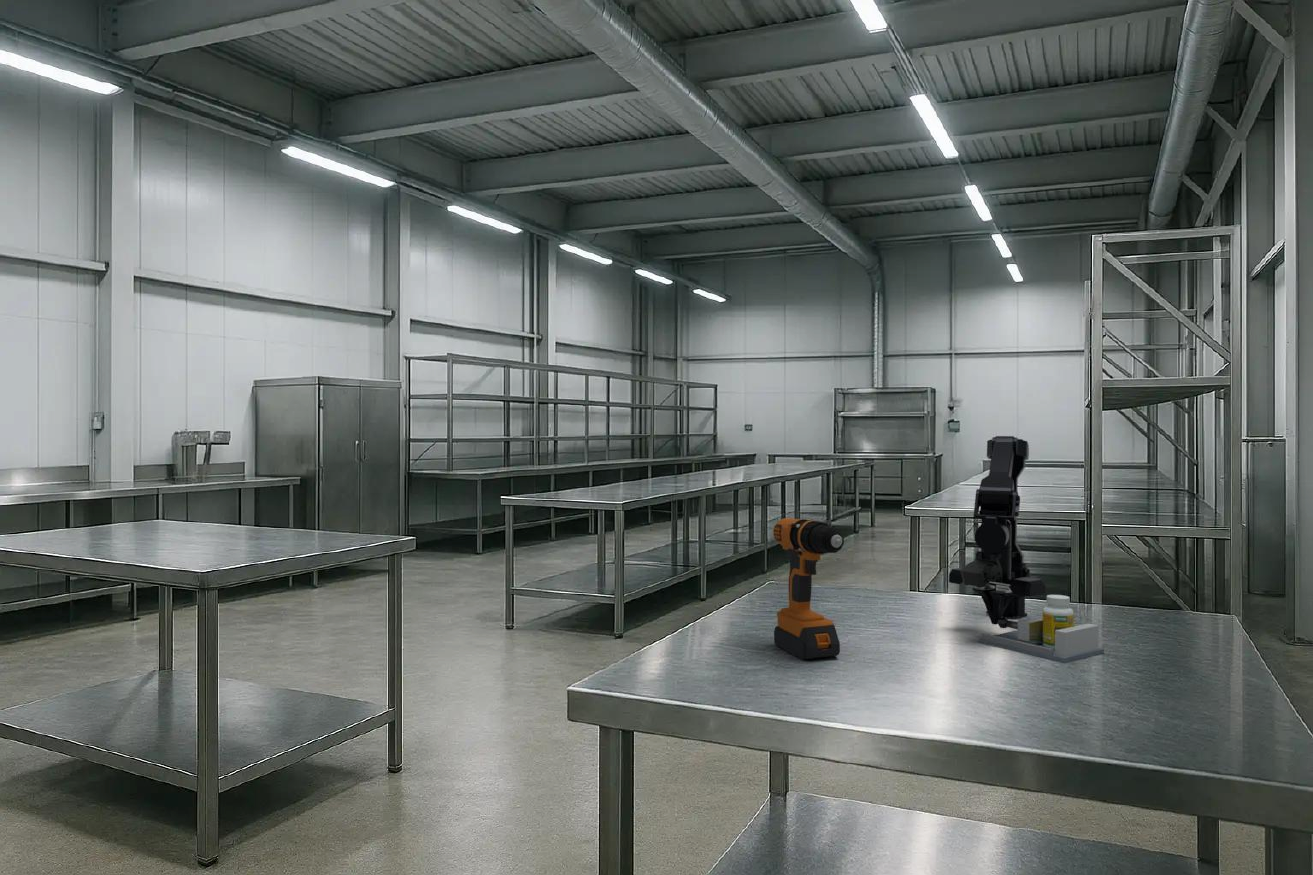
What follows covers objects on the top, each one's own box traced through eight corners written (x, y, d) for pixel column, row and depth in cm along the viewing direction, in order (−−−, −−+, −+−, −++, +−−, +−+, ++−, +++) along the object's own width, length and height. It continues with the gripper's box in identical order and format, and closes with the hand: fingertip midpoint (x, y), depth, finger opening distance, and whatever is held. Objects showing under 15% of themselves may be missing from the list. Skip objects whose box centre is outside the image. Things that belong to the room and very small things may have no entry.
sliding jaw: (982, 635, 174) (983, 613, 174) (1013, 629, 180) (1013, 607, 180) (1029, 646, 166) (1029, 622, 166) (1059, 639, 171) (1059, 616, 171)
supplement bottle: (1062, 643, 169) (1063, 593, 169) (1079, 650, 164) (1080, 598, 164) (1036, 644, 169) (1037, 594, 169) (1052, 651, 163) (1053, 599, 163)
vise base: (978, 642, 173) (978, 615, 173) (1017, 633, 180) (1018, 608, 180) (1064, 662, 158) (1064, 633, 158) (1104, 652, 166) (1104, 625, 166)
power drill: (860, 668, 154) (862, 524, 153) (823, 671, 151) (824, 526, 151) (802, 639, 174) (803, 513, 174) (768, 642, 172) (769, 514, 171)
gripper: (931, 543, 181) (930, 620, 181) (1012, 555, 165) (1011, 638, 165) (966, 540, 187) (965, 614, 187) (1047, 551, 171) (1046, 631, 171)
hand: (994, 624), depth 177 cm, fingers closed
